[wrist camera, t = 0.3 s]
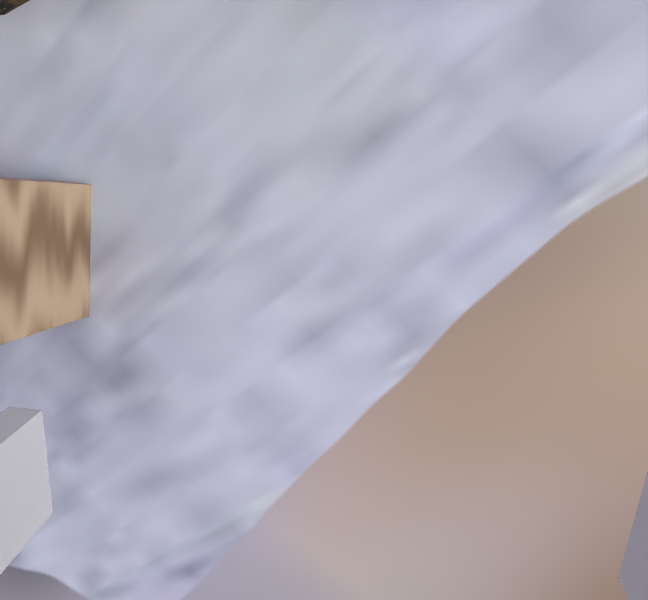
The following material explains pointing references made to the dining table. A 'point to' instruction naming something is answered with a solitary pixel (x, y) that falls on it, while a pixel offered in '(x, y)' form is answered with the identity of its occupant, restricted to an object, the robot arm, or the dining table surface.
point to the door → (43, 255)
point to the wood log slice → (10, 5)
